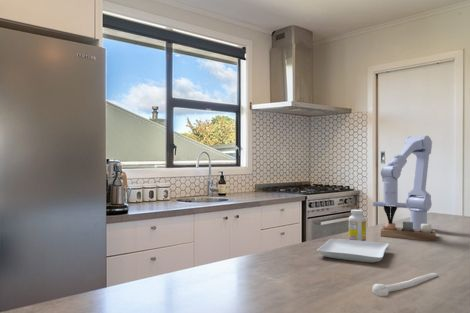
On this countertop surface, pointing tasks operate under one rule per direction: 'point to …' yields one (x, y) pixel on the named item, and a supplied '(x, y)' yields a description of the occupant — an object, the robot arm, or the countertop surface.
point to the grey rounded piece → (407, 226)
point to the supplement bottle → (357, 226)
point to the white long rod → (400, 284)
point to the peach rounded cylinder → (390, 226)
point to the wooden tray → (408, 234)
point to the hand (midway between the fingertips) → (390, 223)
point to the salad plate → (353, 250)
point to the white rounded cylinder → (426, 228)
